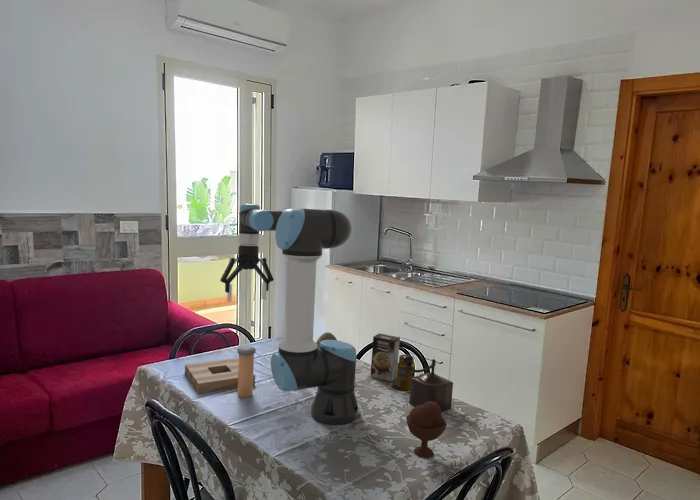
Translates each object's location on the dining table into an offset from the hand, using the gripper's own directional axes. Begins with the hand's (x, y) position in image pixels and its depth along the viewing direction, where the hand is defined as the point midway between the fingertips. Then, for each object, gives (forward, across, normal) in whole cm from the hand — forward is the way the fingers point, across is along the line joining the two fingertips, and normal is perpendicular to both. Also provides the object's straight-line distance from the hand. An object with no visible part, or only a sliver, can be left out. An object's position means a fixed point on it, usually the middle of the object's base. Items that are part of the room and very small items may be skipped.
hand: (246, 300), depth 186 cm
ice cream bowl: (+30, -26, +78) cm, 87 cm away
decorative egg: (+27, -30, +11) cm, 42 cm away
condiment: (+28, -47, +38) cm, 67 cm away
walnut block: (+28, +11, +5) cm, 30 cm away
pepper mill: (+29, -44, +55) cm, 76 cm away
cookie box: (+28, -47, +27) cm, 61 cm away
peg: (+28, +7, +22) cm, 37 cm away
